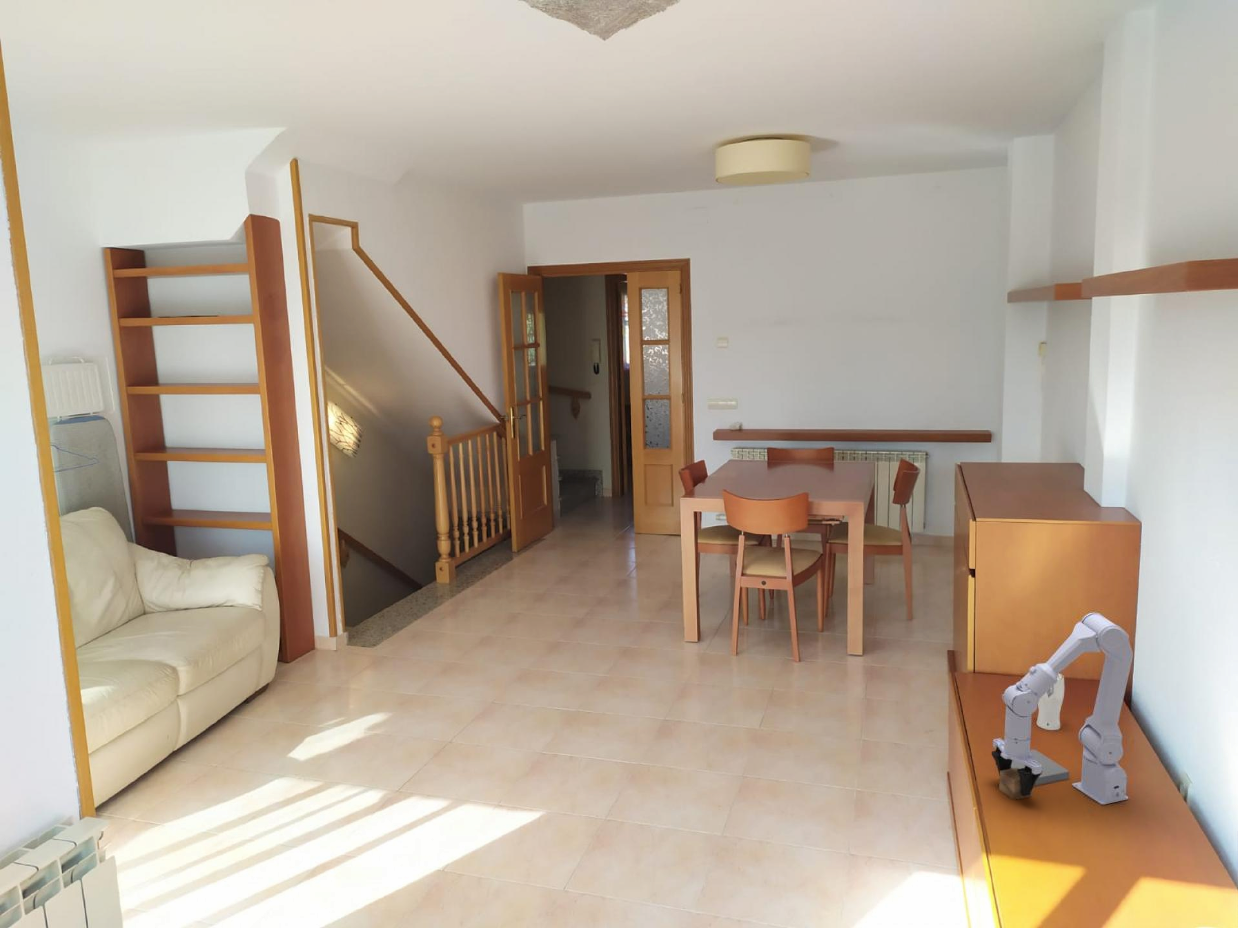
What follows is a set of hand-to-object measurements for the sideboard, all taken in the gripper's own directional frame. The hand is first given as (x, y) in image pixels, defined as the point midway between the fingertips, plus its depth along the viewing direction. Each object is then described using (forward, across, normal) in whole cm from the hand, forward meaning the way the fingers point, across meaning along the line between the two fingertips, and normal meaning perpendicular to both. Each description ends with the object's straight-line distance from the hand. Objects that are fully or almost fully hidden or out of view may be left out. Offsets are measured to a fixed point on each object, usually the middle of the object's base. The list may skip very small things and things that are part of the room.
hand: (1015, 786), depth 217 cm
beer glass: (+2, -26, +33) cm, 42 cm away
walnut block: (+2, 0, 0) cm, 2 cm away
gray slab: (+2, -7, +11) cm, 13 cm away
